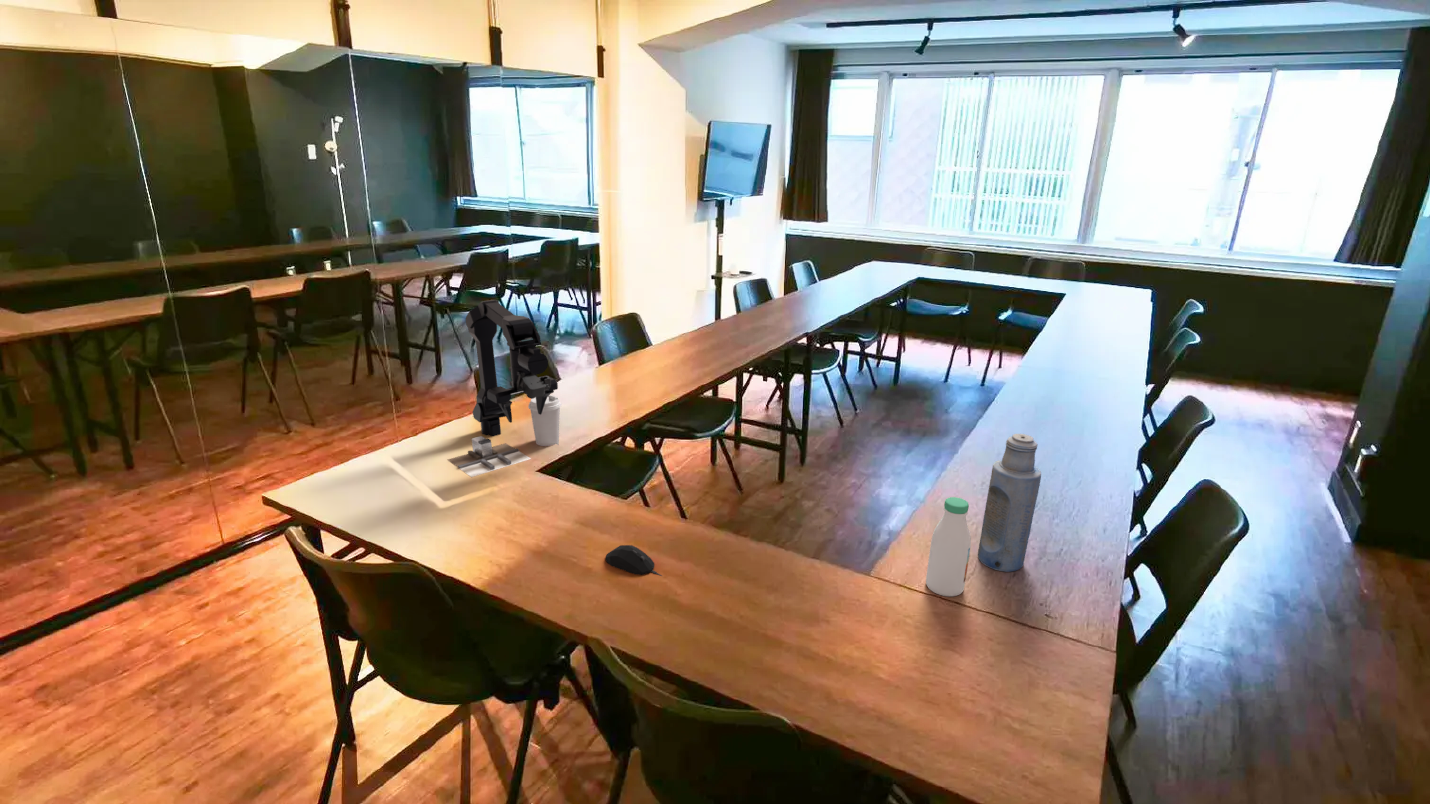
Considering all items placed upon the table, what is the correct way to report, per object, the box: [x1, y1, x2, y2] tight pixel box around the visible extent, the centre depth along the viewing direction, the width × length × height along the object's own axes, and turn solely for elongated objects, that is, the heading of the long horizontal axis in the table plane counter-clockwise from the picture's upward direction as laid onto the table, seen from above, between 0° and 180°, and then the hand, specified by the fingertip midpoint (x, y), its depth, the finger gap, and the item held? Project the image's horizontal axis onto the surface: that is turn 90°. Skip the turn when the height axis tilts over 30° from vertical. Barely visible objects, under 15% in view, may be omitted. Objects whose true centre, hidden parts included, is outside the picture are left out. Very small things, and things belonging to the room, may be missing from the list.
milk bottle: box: [925, 496, 972, 598], centre depth 146 cm, size 8×8×20 cm
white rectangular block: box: [471, 435, 493, 459], centre depth 204 cm, size 6×3×5 cm, turn 44°
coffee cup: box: [528, 394, 562, 447], centre depth 212 cm, size 10×10×15 cm
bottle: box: [977, 433, 1042, 573], centre depth 154 cm, size 10×10×30 cm
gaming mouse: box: [605, 544, 663, 577], centre depth 154 cm, size 6×15×4 cm, turn 57°
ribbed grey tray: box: [447, 442, 532, 478], centre depth 202 cm, size 15×18×2 cm
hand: (525, 418), depth 198 cm, fingers open, 9 cm apart
